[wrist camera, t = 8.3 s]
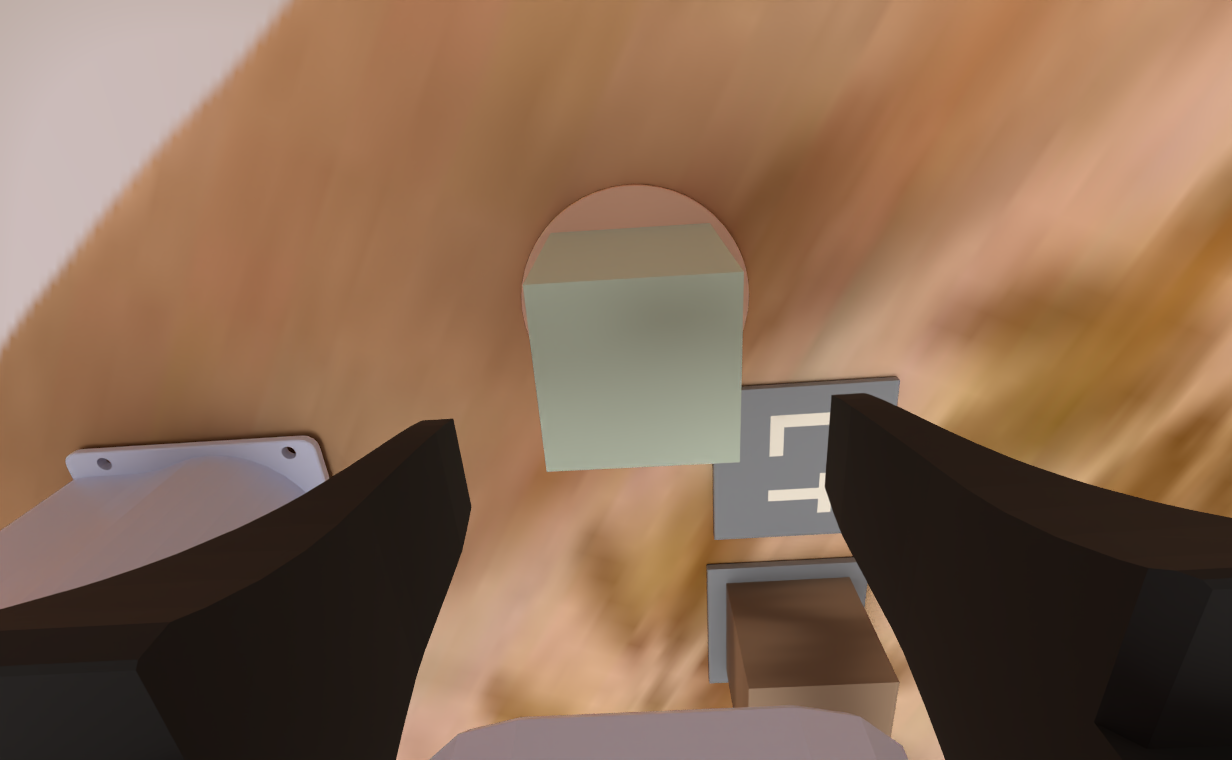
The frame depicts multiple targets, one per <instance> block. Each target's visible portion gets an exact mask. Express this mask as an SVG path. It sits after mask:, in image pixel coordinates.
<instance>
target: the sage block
mask: <svg viewBox="0 0 1232 760" xmlns="http://www.w3.org/2000/svg"><path fill="white" fill-rule="evenodd" d="M523 291H524V299H525V307H526V315H527V322H528V330H529V338H530V346H531V353H532V361H533V369H534V377H535V384H536V392H537V400H538V408H539V415H540V423H541V431H542V439H543V446H544V454H545V462H546V470H547V472H552V471H572V470H592V469H613V468H633V467H654V466H674V465H694V464H715V463H735V462H740V431H741V384H742V338H743V292H744V271H743V270H742V268H741V267H740V265H739V264H738V263H737V261H736V260H735V258H734V257H733V255H732V254H731V253H730V251H729V250H728V248H727V247H726V245H725V244H724V243H723V241H722V240H721V238H720V237H719V235H718V234H717V233H716V231H715V230H714V228H713V227H712V225H711V224H710V223H702V224H686V225H670V226H654V227H638V228H622V229H606V230H590V231H574V232H558V233H550V235H549V237H548V239H547V241H546V242H545V244H544V246H543V248H542V250H541V252H540V254H539V255H538V257H537V259H536V261H535V263H534V265H533V267H532V269H531V270H530V272H529V274H528V276H527V278H526V280H525V282H524V283H523Z"/></svg>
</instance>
